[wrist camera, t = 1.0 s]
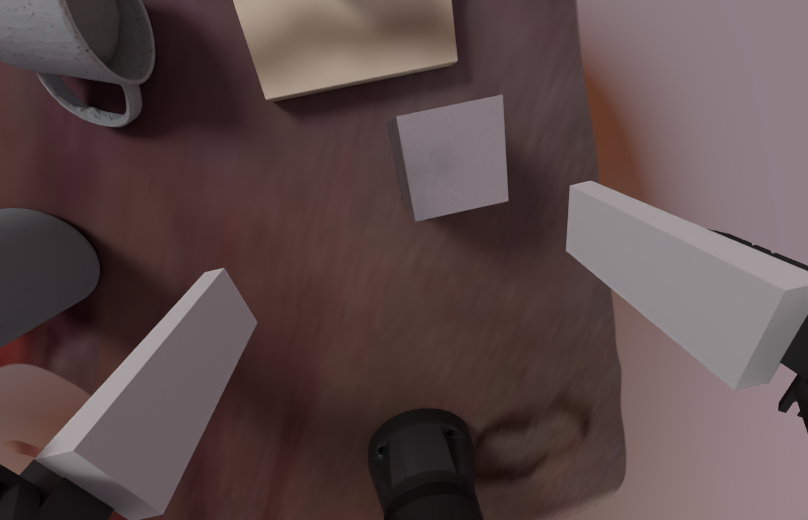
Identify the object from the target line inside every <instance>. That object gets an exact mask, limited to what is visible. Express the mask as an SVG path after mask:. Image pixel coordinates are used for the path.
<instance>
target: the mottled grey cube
mask: <svg viewBox="0 0 808 520" xmlns="http://www.w3.org/2000/svg"><path fill="white" fill-rule="evenodd" d="M387 126H388V131H389V136H390V141H391V147H392V152H393V157H394V162H395V167H396V172H397V177H398V182H399V188H400V193H401V198H402V200H403V202H404V203H405V205H406V207H407V208H408V210H409V212H410V213H411V215H412V217H413V218H414V220H415V222H416V221H421V220H425V219H430V218H434V217H439V216H443V215H448V214H452V213H457V212H461V211H466V210H470V209H475V208H479V207H484V206H488V205H493V204H497V203H502V202H506V201H508V184H507V165H506V147H505V129H504V110H503V95H498V96H493V97H489V98H484V99H479V100H474V101H469V102H464V103H460V104H455V105H450V106H445V107H440V108H435V109H431V110H426V111H421V112H416V113H411V114H406V115H402V116H397V117H395V118H393V119H391V120H390V121H388V122H387Z"/></svg>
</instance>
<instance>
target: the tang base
mask: <svg viewBox="0 0 808 520" xmlns="http://www.w3.org/2000/svg"><path fill="white" fill-rule="evenodd" d="M233 2H234V5H235V8H236V11H237V14H238V17H239V20H240V23H241V26H242V29H243V32H244V35H245V38H246V41H247V44H248V47H249V50H250V53H251V56H252V59H253V62H254V65H255V68H256V71H257V74H258V77H259V80H260V83H261V86H262V89H263V92H264V95H265V98H266V100H269V101H271V102H275V101H280V100H285V99H290V98H295V97H300V96H305V95H310V94H315V93H320V92H325V91H329V90H334V89H339V88H344V87H349V86H354V85H359V84H364V83H369V82H374V81H379V80H384V79H389V78H394V77H399V76H404V75H409V74H414V73H419V72H424V71H428V70H433V69H438V68H443V67H448V66H452V65H453V64H454V63H456V62H457V61H458V58H457V48H456V39H455V29H454V19H453V9H452V0H233Z"/></svg>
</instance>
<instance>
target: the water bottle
mask: <svg viewBox="0 0 808 520" xmlns="http://www.w3.org/2000/svg"><path fill="white" fill-rule="evenodd" d="M99 276H100V264H99V260H98V257H97V255H96V253H95V251H94V249H93V247H92V246H91V244H90V243H89V242H88V241H87V239H86V238H85V237H84V236H83V235H82V234H81V233H80V232H79V231H77V230H76V229H75V228H73V227H72V226H70V225H69V224H68V223H66V222H64V221H62V220H60V219H58V218H56V217H54V216H51V215H48V214H46V213H43V212H39V211H35V210H30V209H21V208H7V209H0V347H2V346H4V345H6V344H7V343H9V342H11V341H12V340H14V339H16V338H18V337H19V336H21V335H23V334H25V333H26V332H28V331H30V330H31V329H33V328H35V327H37V326H38V325H40V324H42V323H43V322H45V321H47V320H49V319H50V318H52V317H54V316H55V315H57V314H59V313H61V312H62V311H64V310H66V309H67V308H69V307H71V306H73V305H74V304H76V303H78V302H79V301H81V300H83V299H85V298H86V297H87V296H88V295H89V294H90V293H91V292H92V291H93V290H94V289H95V287H96V285H97V283H98V280H99Z"/></svg>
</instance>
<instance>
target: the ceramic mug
mask: <svg viewBox="0 0 808 520" xmlns="http://www.w3.org/2000/svg"><path fill="white" fill-rule="evenodd" d="M0 61H1V62H4V63H6V64H10V65H13V66H16V67H19V68H23V69H27V70H31V71H35V72H36V74H37V76H38V78H39V79H40V81H41V82H42V84H43V85H44V86H45V87H46V89H47V90H48V92H49V93H50V94H51V95H52V96H53V97H54V98H55V99H56V100H57V101H58V102H59V103H60V104H61V105H62V106H63V107H65V108H66V109H67V110H69V111H70V112H72V113H73V114H75V115H77V116H78V117H80V118H82V119H84V120H86V121H89V122H91V123H95V124H97V125H101V126H107V127H123V126H125V125H127V124H128V123H130V122H131V121H132V120H134V119H136V118H137V116H138V115H139V113H140V112H141V109H142V98H141V92H140V88H139V84H142V83H144V82H145V81H146V80H147V79H148V78H149V77H150V75H151V74H152V71H153V68H154V64H155V43H154V36H153V31H152V27H151V23H150V20H149V17H148V14H147V11H146V8H145V6H144V4H143V2H142V0H0ZM59 75H66V76H73V77H78V78H84V79H89V80H96V81H103V82H109V83H115V84H120V85H121V86H122V88H123V90H124V93H125V99H126V109H127V110H126V113H125V114H124V115H121V114H116V113H111V112H106V111H102V110H100V109H98V108H96V107H90V106H88V105H86V104H85V103H84V102H82V101H81V100H80V99H79V98H78V97H76V96H75V95H74V94H73V93H72V91H71V90H70V89H69V88H68V87H67V86H66V85H65V83H64V82H63V80H62V79H61V77H60V76H59Z"/></svg>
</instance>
